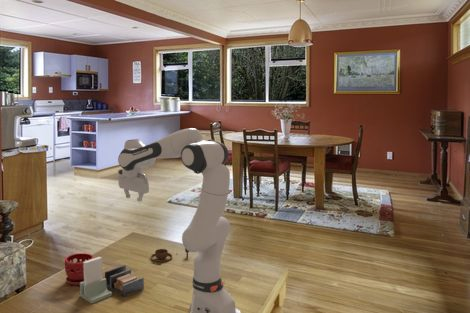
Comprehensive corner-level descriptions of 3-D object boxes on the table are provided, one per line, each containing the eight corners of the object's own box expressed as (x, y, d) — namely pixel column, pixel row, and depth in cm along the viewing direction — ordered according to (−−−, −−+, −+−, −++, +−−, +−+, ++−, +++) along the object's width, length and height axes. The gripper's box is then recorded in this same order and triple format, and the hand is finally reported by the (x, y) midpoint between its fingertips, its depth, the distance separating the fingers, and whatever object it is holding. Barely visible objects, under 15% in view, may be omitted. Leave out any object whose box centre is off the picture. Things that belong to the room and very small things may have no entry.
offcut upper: (137, 281, 186) (136, 277, 185) (124, 286, 180) (124, 282, 180) (129, 277, 189) (129, 273, 189) (116, 282, 184) (116, 278, 184)
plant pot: (78, 289, 184) (77, 265, 182) (59, 282, 190) (58, 259, 189) (100, 278, 195) (99, 255, 194) (81, 272, 202) (80, 250, 200)
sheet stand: (112, 295, 179) (111, 281, 178) (91, 303, 172) (91, 289, 171) (99, 288, 186) (99, 275, 185) (79, 296, 178) (79, 282, 177)
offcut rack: (143, 288, 186) (143, 273, 185) (123, 297, 178) (123, 281, 177) (124, 279, 196) (124, 264, 194) (105, 286, 187) (104, 271, 186)
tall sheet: (102, 288, 182) (101, 257, 180) (86, 295, 176) (85, 263, 174) (100, 287, 183) (99, 256, 181) (84, 293, 177) (83, 261, 175)
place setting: (159, 252, 232) (159, 242, 231) (190, 256, 227) (190, 246, 226) (144, 263, 216) (144, 253, 215) (178, 268, 210) (178, 258, 209)
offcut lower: (139, 285, 186) (139, 281, 186) (123, 291, 179) (123, 287, 179) (130, 280, 191) (130, 276, 190) (114, 287, 184) (114, 283, 184)
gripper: (152, 174, 189) (152, 202, 191) (126, 168, 202) (126, 195, 204) (141, 175, 184) (141, 204, 186) (115, 170, 197) (116, 197, 199)
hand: (133, 199), depth 195 cm, fingers open, 8 cm apart
